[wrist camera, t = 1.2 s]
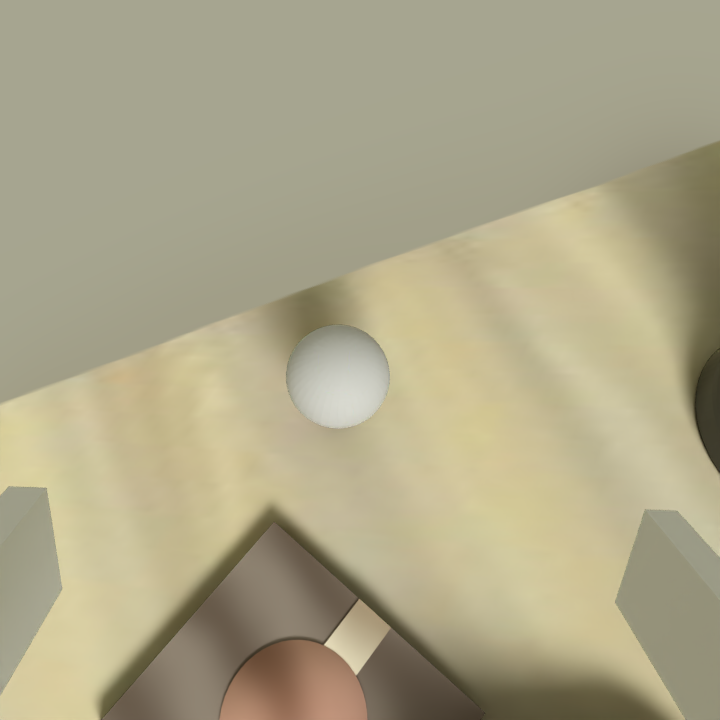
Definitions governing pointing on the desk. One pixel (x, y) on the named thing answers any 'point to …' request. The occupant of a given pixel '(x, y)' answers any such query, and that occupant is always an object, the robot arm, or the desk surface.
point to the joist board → (289, 653)
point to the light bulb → (337, 376)
